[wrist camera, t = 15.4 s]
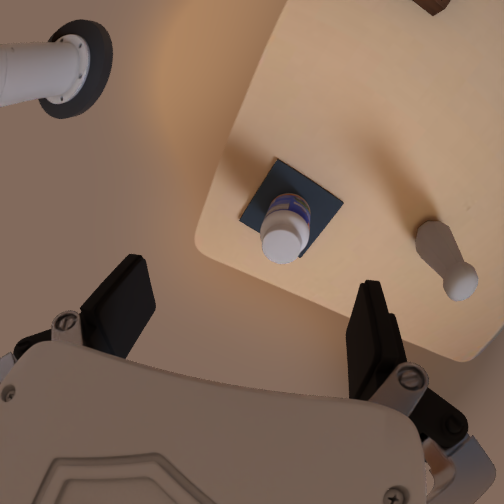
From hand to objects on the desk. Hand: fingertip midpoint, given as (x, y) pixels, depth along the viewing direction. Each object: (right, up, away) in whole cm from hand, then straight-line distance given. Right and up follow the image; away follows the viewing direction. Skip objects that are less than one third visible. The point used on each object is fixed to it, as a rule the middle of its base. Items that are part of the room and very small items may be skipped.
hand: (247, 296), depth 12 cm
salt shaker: (+25, +4, +23) cm, 34 cm away
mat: (+5, +7, +25) cm, 27 cm away
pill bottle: (+5, +7, +25) cm, 27 cm away
